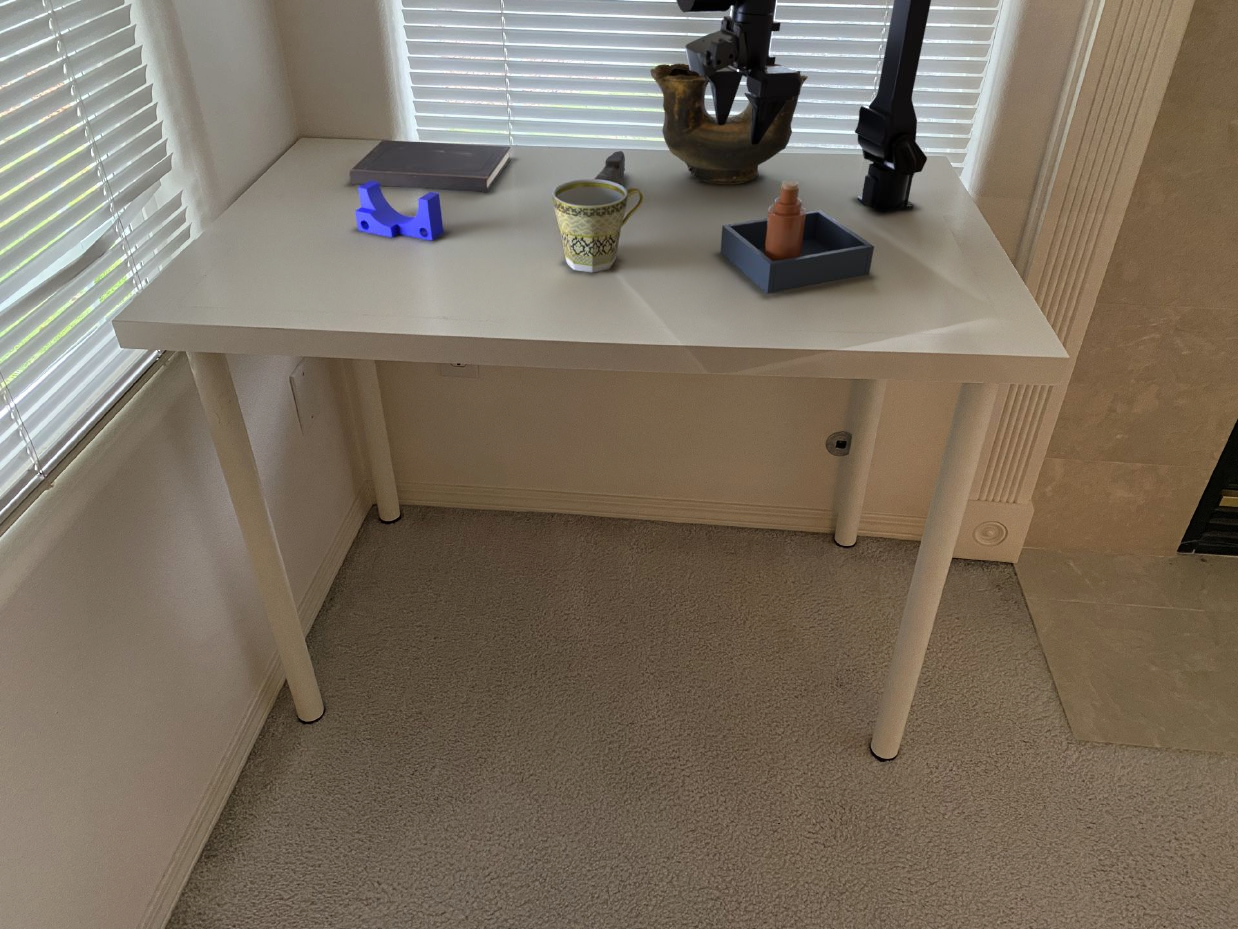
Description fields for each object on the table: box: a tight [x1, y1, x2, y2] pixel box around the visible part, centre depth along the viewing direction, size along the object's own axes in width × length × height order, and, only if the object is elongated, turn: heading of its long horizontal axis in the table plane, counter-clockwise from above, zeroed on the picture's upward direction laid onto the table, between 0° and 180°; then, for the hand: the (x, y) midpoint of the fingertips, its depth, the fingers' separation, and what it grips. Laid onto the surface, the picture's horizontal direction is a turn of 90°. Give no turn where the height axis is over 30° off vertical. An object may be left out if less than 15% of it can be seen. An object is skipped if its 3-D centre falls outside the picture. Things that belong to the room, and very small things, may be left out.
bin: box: [720, 209, 875, 295], centre depth 128 cm, size 16×14×4 cm
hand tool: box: [593, 150, 626, 186], centre depth 149 cm, size 19×4×5 cm, turn 161°
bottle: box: [764, 180, 807, 261], centre depth 122 cm, size 5×5×12 cm
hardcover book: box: [348, 139, 512, 193], centre depth 158 cm, size 16×23×2 cm
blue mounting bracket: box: [354, 181, 444, 242], centre depth 136 cm, size 12×4×6 cm, turn 65°
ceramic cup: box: [551, 178, 644, 273], centre depth 127 cm, size 13×10×10 cm
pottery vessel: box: [650, 63, 809, 185], centre depth 151 cm, size 25×11×20 cm, turn 96°
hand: (737, 134), depth 129 cm, fingers open, 9 cm apart
